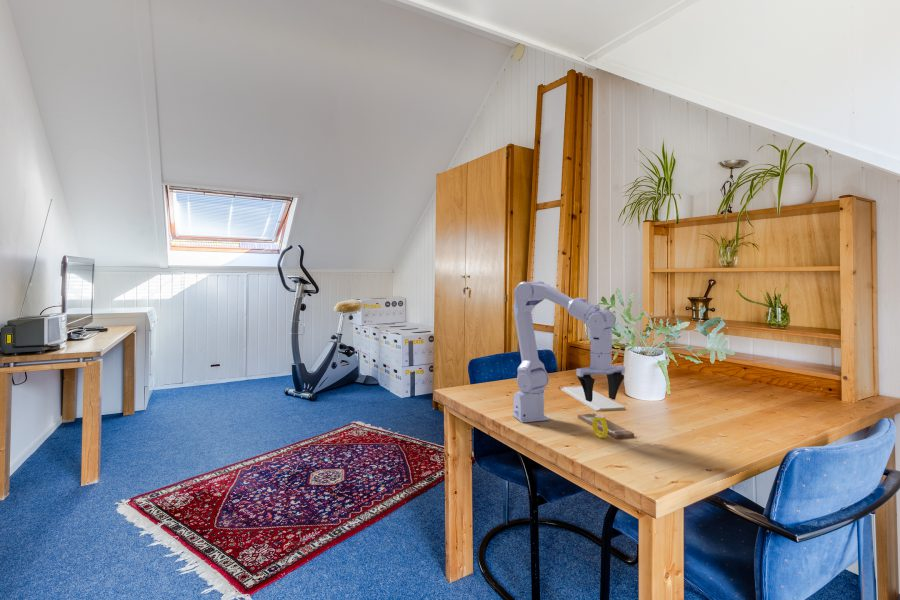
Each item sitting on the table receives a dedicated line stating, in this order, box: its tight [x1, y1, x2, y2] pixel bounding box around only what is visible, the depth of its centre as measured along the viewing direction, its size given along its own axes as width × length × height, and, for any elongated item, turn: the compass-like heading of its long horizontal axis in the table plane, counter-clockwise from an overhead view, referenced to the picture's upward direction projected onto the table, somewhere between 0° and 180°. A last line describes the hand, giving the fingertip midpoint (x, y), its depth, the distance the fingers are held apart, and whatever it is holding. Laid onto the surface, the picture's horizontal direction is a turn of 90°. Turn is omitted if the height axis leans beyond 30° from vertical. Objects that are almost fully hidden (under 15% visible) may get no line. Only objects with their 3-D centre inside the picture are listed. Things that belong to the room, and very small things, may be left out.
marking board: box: [577, 413, 635, 440], centre depth 137 cm, size 6×20×1 cm, turn 15°
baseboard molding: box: [557, 382, 626, 412], centre depth 169 cm, size 31×3×12 cm
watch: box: [592, 414, 608, 439], centre depth 129 cm, size 6×3×6 cm, turn 12°
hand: (600, 399), depth 129 cm, fingers open, 7 cm apart
